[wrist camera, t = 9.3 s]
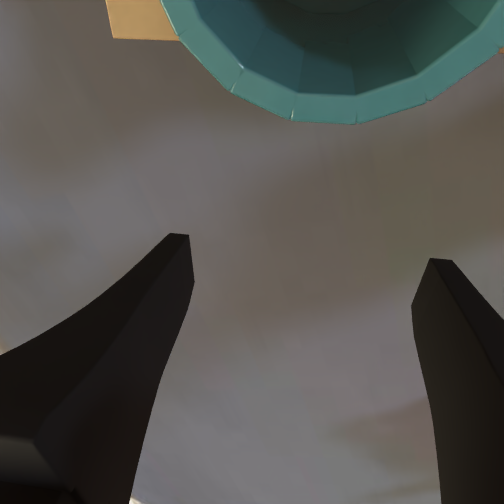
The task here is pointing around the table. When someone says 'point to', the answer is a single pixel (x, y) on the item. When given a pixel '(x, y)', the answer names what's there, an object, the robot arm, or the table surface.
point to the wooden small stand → (143, 20)
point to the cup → (338, 51)
